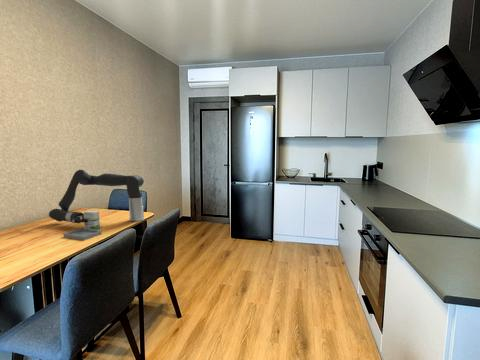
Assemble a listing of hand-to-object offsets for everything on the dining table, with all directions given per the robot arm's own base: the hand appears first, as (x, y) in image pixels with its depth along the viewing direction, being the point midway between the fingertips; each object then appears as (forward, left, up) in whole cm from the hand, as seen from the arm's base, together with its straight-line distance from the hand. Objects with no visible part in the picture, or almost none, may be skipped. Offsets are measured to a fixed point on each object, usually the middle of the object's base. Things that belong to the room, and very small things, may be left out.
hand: (92, 219), depth 177 cm
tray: (+12, +5, -7) cm, 15 cm away
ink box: (0, -1, -7) cm, 7 cm away
